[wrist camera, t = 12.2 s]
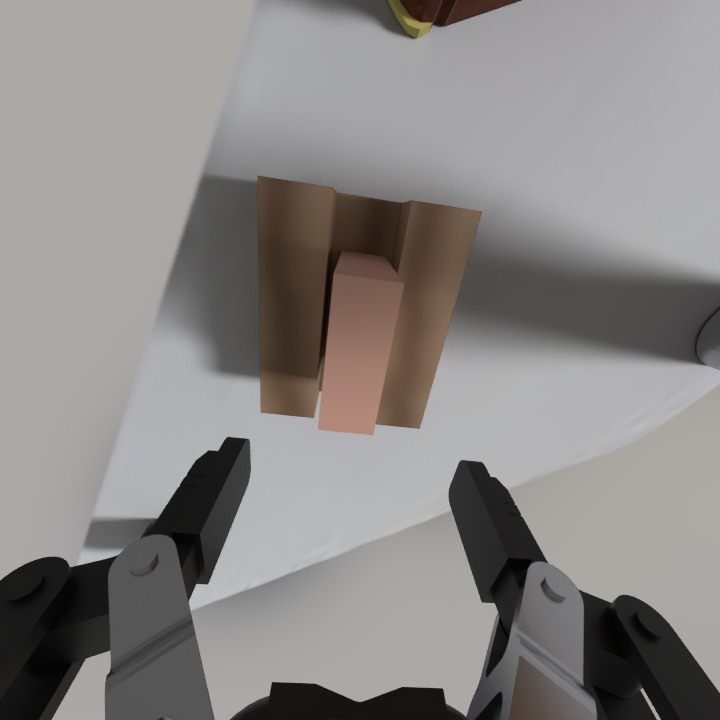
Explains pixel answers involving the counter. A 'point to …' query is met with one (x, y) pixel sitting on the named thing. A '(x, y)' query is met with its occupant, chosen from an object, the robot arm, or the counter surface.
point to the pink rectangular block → (358, 341)
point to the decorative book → (439, 12)
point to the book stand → (315, 279)
